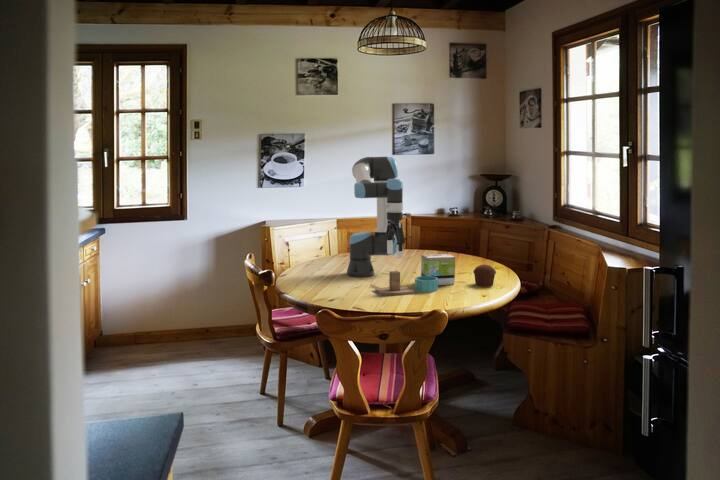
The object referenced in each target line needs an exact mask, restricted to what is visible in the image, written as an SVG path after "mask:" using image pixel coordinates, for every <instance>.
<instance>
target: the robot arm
mask: <svg viewBox="0 0 720 480" xmlns="http://www.w3.org/2000/svg"><path fill="white" fill-rule="evenodd" d="M351 171H352V172H351V173H352V176H353V178H354V179H355V183H354V185H353V187H354V188H353V190H354V192H353V194H354V197H355V198H356V199H376V229H375V230H374V232H373V233H374V234H372V233H371V232H370V231H360V232H356V233H353V234H351V235H350V236H349V263H348V266H347V270H346V276H348V277H355V278H357V277H358V278H365V277H371V276H374V275H375V269H374V267H373V263H372V256H387V257H388V256H395V254H396V259H404V244H405V243H406V240H405V234H404V230H403V229H404V228H403V222H400V221H402V220H403V219H404V217H403V214H404V213H403V211H404V206H403V205H404V203H403V198H404V197H403V195H404V192H403V189H404V188H403V187H404V185H403V184H404V183H403V179H401V178H398V177H399V176H398V175H399V173H398V172H399V171H398V165H397V161H396V159H395V157H393V156H366V157H362V158H359V159H358V160H357V161H356V162H355V163H354V164H353V165H352V169H351ZM372 179H373V182H372Z"/></svg>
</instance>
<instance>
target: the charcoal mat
mask: <svg viewBox="0 0 720 480" xmlns="http://www.w3.org/2000/svg"><path fill="white" fill-rule="evenodd" d="M414 291H415V294H405V295H404V296H409V295H410V296H412V295H419V294H420V292H419V293H418V291H416V290H414ZM371 292H372V293H373V294H375V295H376V296H378V297H379V298H387V297H390V298H391V296H382V295H381V294H379V293H378V292H376V291H375V289H373V290H371ZM399 296H400V297H401V296H402V295H394V296H393V297H399Z"/></svg>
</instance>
